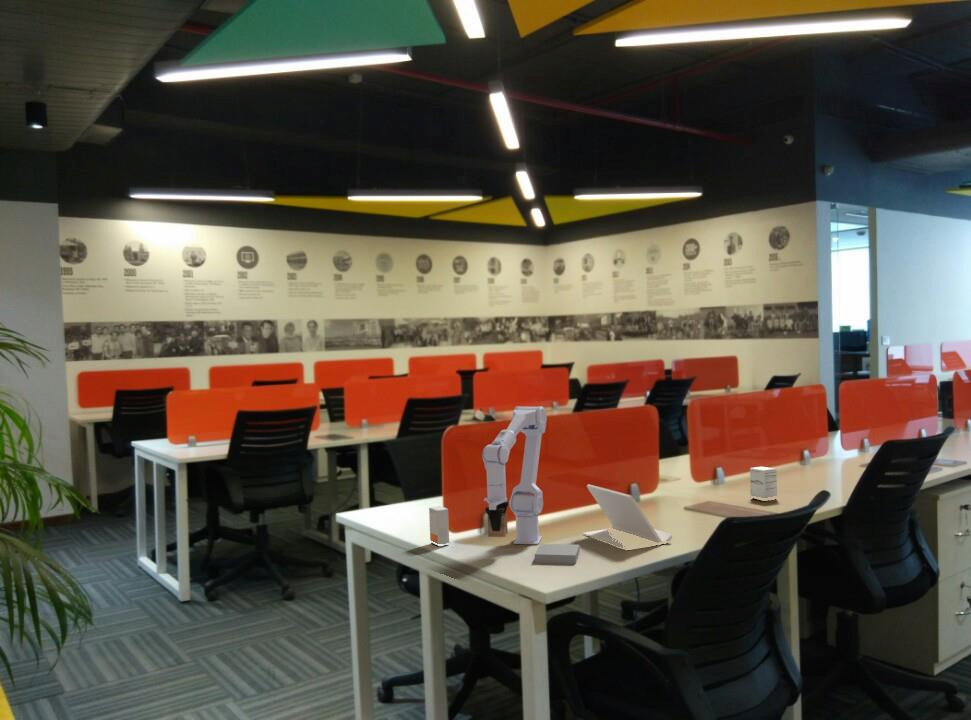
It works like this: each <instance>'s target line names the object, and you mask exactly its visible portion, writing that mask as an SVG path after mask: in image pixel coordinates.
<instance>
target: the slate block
mask: <svg viewBox="0 0 971 720" xmlns="http://www.w3.org/2000/svg"><path fill="white" fill-rule="evenodd" d="M580 549H581V548H580V544H567V543H566V544H564V543H563V544H560V543H559V544H557V543H556V544H555V543H553V544H552V543H539V546H538V548H537V550H536V551H535V553H534V563H535V564H561V565H564V564H565V565H577V562H578V559H579V557H578V556H580V554H579V553H581V551H580ZM573 563H574V564H573Z"/></svg>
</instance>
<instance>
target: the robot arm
mask: <svg viewBox="0 0 971 720" xmlns="http://www.w3.org/2000/svg"><path fill="white" fill-rule="evenodd" d="M547 419H548V415H547V412H546V409H545V408H544V406H543V405H542V406H540V405H539V406H520V405H517V406H515V407H514V410H513V411H512V420H511V421H510V423H509V425H508V426H507V427H506V429H501V431H500V432H499V433H498V434H497V435H496V437H495V439H494V440H493V441H492V442H491V444H487V445H486V446H484V448H483V450H482V455H481V456H482V458H481V459H482V460H483V463H484V470H486V491H487V497H484V498H483V501H484V502H487V504H488V506H487V507H485V509H484V511H485V513H486V514H487V517H488V516H489V519H490V523H491V527H492V530H493V531H500V527H501V518H502V514H503V513H507V509H508V507H509V509H510V510H511V511H512V513H513V515H514V516H515V534H516V537H515V540H514V541H513V545H539V544H540V541H541V540H542V538H543V536H542V535H540V531H539V528H540V527H539V526H540V525H539V515H540V514H541V513H542V510H543V507H544V498H543V496H544V493H543V491H542V490H541V488H539V487H538V486H537V477H538V470H539V469H538V468H539V460H540V454H541V453H540V452H541V444H542V435H543V434H545V433H546V428H547ZM519 433H523V434H524V435H525V443H524V451H523V452H524V453H523V457H522V458H523V459H522V468H521V474H520V482H519V484H518V485H516V486H515V487H513V489H512V493H511V496H510V499H509V501H508V497H507V484H506V482H507V481H506V480H507V479H506V478H507V477H506V463H507V462H508V460H509V456H510V454H511V450H512V448H513V446H514V445H515V444H516V442H517V435H519Z"/></svg>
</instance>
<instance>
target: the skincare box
mask: <svg viewBox="0 0 971 720" xmlns="http://www.w3.org/2000/svg"><path fill="white" fill-rule="evenodd" d="M428 511H429V512H428V514H429V515H428V516H429V541H430V540H431V541H433V542H435V543H437V544H446V543H449V544H450V529H449V528H450V527H449V526H450V524H449V523H450V522H449V509H448V508H446V507H445V506H440V505H438V506H430V507H428Z"/></svg>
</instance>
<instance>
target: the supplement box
mask: <svg viewBox="0 0 971 720" xmlns="http://www.w3.org/2000/svg"><path fill="white" fill-rule="evenodd" d="M777 474H778V471H777V468H773V467H766V466H755V467H750V468H749V483H750V484H749V485H750V487H749V488H750V489H749V491H750V495H751V496H756V497H761V498H768V497H773V496H777V497H778V477H777ZM751 496H750V497H751Z"/></svg>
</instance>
